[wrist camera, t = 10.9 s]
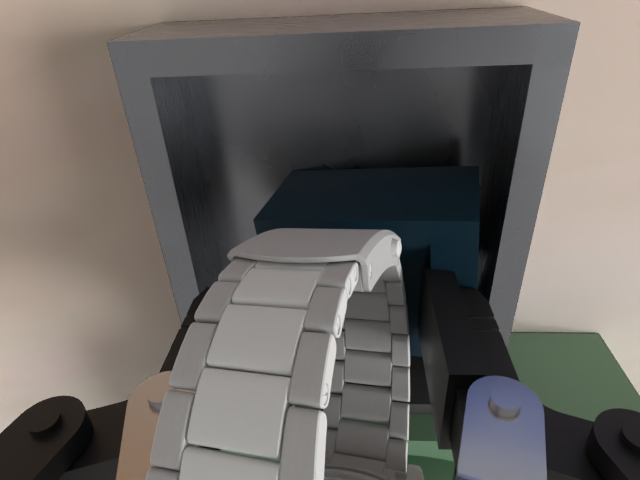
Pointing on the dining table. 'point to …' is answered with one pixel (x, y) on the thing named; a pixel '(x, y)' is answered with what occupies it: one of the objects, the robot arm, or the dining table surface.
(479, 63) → the frame
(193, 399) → the watch
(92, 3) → the dining table surface
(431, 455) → the green block with dome
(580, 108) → the dining table surface
